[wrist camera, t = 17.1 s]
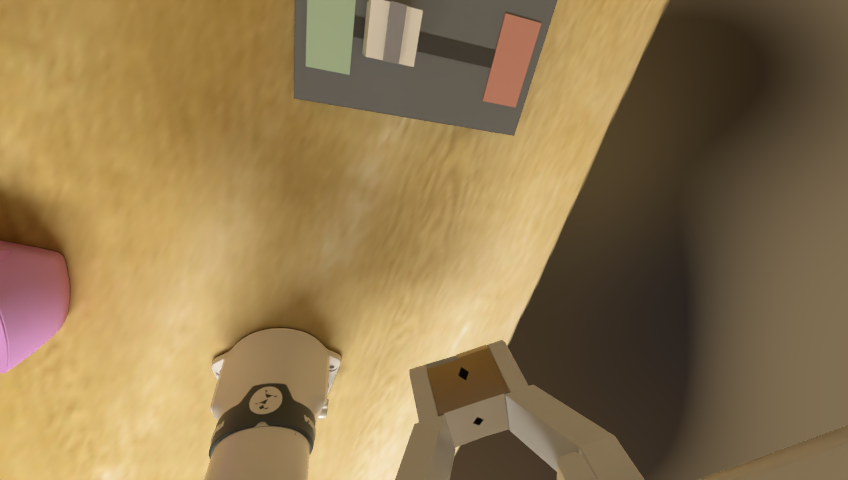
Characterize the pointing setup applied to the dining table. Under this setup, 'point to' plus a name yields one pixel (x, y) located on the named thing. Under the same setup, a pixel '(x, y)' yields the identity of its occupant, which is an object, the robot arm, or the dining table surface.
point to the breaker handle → (391, 32)
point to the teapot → (30, 300)
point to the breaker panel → (426, 60)
